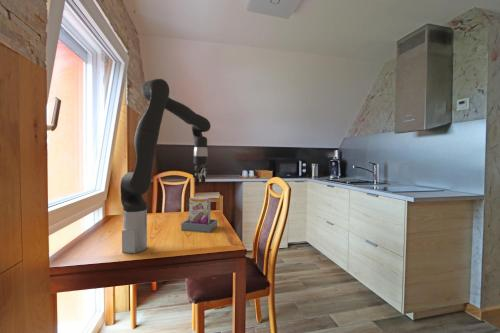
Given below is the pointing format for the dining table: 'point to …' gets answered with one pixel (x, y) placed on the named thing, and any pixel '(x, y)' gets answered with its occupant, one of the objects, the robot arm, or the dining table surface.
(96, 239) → the dining table surface
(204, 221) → the candy bar box
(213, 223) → the tray
